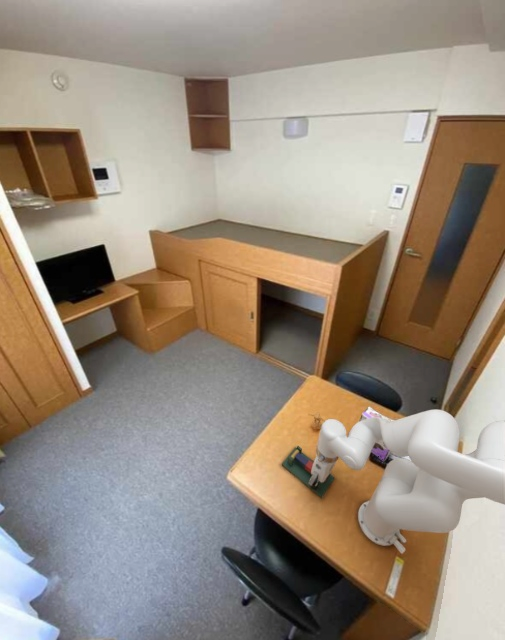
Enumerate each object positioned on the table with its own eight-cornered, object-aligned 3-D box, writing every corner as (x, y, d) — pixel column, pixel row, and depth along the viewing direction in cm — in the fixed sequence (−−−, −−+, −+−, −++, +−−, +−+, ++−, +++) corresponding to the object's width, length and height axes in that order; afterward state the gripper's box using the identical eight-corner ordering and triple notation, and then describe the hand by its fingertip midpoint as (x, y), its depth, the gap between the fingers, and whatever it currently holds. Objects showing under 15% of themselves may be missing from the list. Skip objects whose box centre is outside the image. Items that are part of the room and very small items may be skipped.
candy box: (352, 438, 117) (361, 413, 108) (359, 430, 121) (369, 405, 111) (383, 462, 109) (396, 437, 100) (390, 453, 112) (403, 428, 103)
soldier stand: (334, 479, 103) (336, 471, 100) (321, 498, 98) (323, 490, 95) (295, 448, 113) (296, 440, 110) (281, 465, 108) (282, 456, 105)
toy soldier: (329, 477, 101) (330, 473, 99) (323, 486, 99) (324, 481, 97) (296, 452, 109) (296, 447, 107) (289, 459, 107) (290, 454, 105)
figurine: (326, 428, 121) (331, 410, 115) (322, 439, 117) (326, 421, 110) (308, 419, 125) (312, 401, 118) (303, 430, 120) (307, 412, 114)
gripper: (324, 478, 84) (315, 504, 94) (350, 439, 95) (340, 466, 105) (303, 461, 88) (297, 488, 98) (330, 426, 99) (323, 453, 109)
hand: (319, 477), depth 101 cm, fingers open, 8 cm apart
